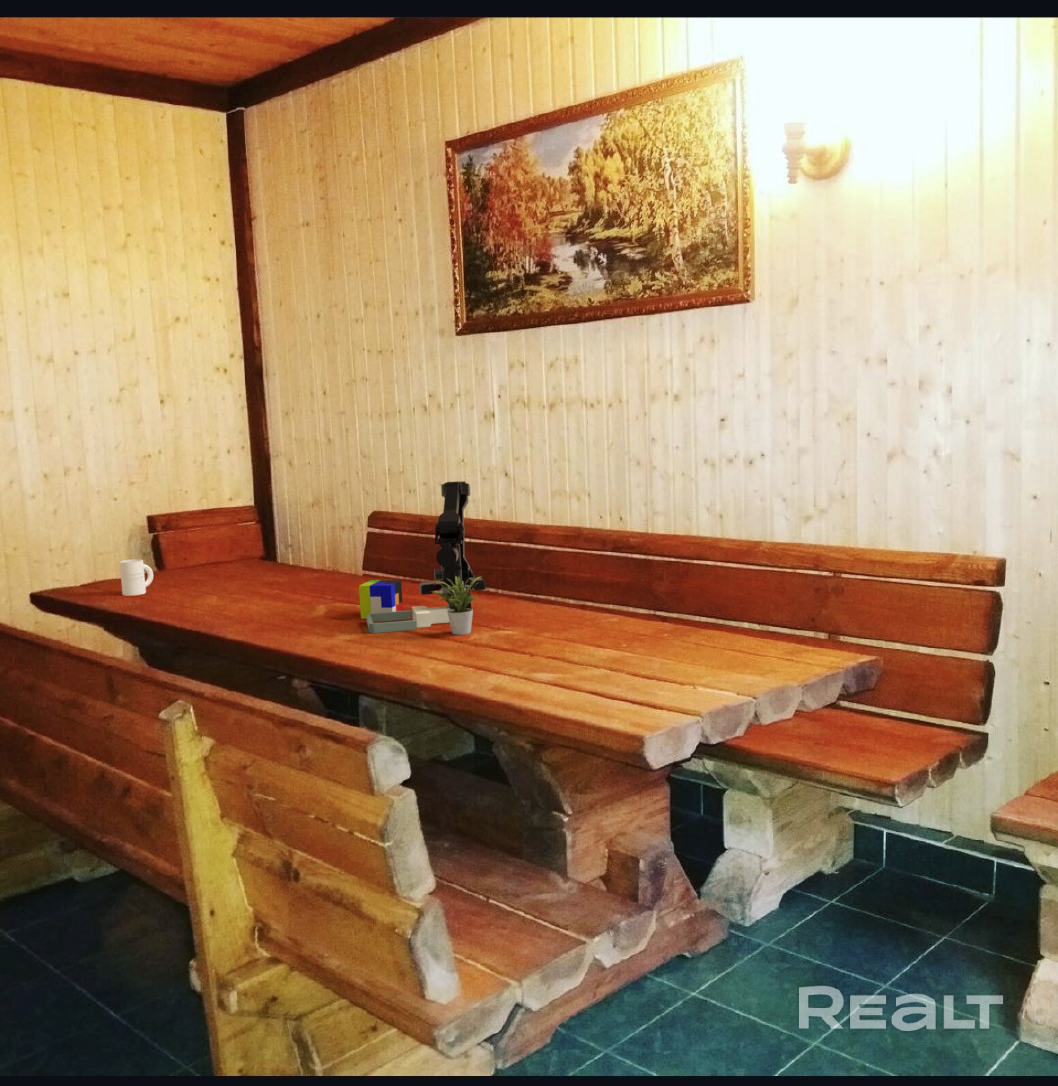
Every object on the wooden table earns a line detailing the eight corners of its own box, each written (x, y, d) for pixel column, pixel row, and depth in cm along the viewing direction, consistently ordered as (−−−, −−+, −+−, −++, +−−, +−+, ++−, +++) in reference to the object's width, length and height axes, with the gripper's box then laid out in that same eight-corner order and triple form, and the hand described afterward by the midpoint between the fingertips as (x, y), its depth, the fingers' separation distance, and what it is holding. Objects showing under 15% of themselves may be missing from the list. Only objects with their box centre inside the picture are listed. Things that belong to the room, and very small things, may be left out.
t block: (446, 617, 329) (445, 604, 329) (451, 624, 318) (451, 611, 317) (412, 620, 327) (411, 606, 327) (417, 627, 316) (416, 613, 315)
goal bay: (411, 618, 330) (410, 610, 330) (417, 629, 313) (416, 620, 313) (366, 622, 328) (366, 613, 327) (369, 633, 311) (369, 624, 310)
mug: (160, 591, 404) (157, 558, 402) (130, 596, 395) (127, 563, 393) (148, 589, 409) (145, 557, 408) (118, 594, 400) (115, 561, 399)
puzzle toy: (392, 618, 332) (390, 585, 330) (360, 618, 334) (358, 585, 333) (403, 612, 341) (401, 580, 340) (372, 612, 343) (370, 580, 342)
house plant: (466, 624, 317) (463, 568, 315) (499, 630, 307) (496, 571, 305) (427, 633, 307) (424, 574, 305) (460, 639, 297) (457, 579, 295)
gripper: (478, 556, 331) (481, 608, 333) (415, 561, 328) (419, 613, 330) (484, 561, 320) (487, 614, 322) (420, 566, 317) (423, 620, 319)
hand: (454, 615), depth 324 cm, fingers closed
